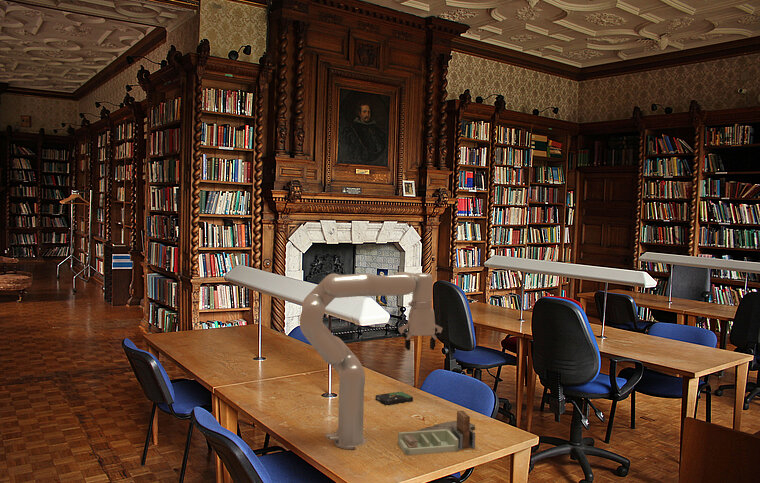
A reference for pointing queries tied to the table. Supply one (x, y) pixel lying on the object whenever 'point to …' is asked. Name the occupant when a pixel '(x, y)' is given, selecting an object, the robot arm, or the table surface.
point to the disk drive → (394, 398)
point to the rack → (429, 442)
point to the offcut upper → (410, 440)
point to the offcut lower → (409, 445)
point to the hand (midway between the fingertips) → (420, 349)
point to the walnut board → (463, 427)
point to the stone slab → (445, 426)
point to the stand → (460, 437)
